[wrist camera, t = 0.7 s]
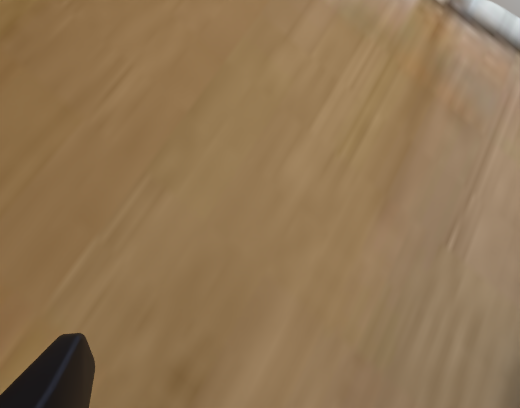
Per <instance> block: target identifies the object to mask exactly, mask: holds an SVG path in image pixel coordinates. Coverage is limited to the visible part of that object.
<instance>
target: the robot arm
mask: <svg viewBox="0 0 520 408" xmlns="http://www.w3.org/2000/svg"><path fill="white" fill-rule="evenodd" d="M94 373H95V361H94V358H93V355H92V353H91V350H90V347H89V345H88V342H87V340H86V338H85V336H84V335H83V334H81V333H74V334H63V335H61V336H59V337H58V338H57V339H56V340H55V341H54V342H53V343H52V344H51V345H50V346H49V347H48V348H47V349H46V350H45V351H44V352H43V353H42V354H41V355H40V356H39V357H38V358H37V359H36V360H35V361H34V362H33V363H32V364H31V365H30V366H29V367H28V368H27V369H26V370H25V371H24V372H23V373H22V374H21V375H20V376H19V377H18V378H17V379H16V380H15V381H14V382H13V383H12V384H11V385H10V386H9V387H8V388H7V389H6V390H5V391H4V392H3V393H2V394H1V395H0V408H89V403H90V397H91V391H92V385H93V379H94Z"/></svg>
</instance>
